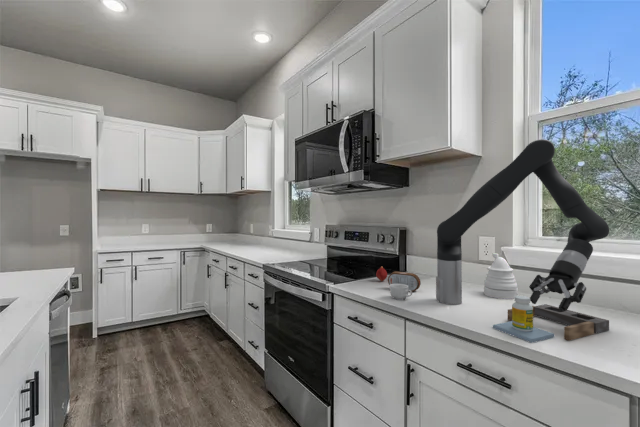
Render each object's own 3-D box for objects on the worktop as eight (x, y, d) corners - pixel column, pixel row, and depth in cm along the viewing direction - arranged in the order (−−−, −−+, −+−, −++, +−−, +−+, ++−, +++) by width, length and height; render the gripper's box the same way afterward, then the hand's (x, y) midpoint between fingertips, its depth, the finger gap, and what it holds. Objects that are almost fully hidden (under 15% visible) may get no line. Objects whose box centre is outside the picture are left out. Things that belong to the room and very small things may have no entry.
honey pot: (478, 294, 137) (478, 254, 137) (491, 289, 145) (491, 251, 145) (510, 300, 127) (510, 257, 127) (522, 295, 135) (522, 254, 135)
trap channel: (545, 312, 112) (545, 302, 112) (609, 330, 95) (609, 318, 95) (507, 320, 104) (507, 309, 104) (568, 340, 87) (568, 328, 87)
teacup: (386, 298, 132) (385, 285, 132) (396, 295, 137) (396, 282, 137) (406, 303, 125) (406, 289, 125) (416, 299, 130) (416, 286, 130)
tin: (420, 291, 143) (420, 273, 143) (419, 293, 140) (418, 274, 140) (389, 287, 151) (389, 270, 151) (387, 289, 148) (387, 271, 148)
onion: (375, 280, 167) (374, 265, 167) (385, 280, 168) (385, 265, 168) (377, 282, 161) (377, 267, 161) (388, 282, 162) (388, 267, 162)
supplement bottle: (517, 324, 97) (517, 294, 97) (536, 329, 93) (536, 297, 93) (508, 328, 94) (508, 296, 94) (528, 333, 90) (528, 300, 90)
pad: (514, 323, 101) (514, 320, 101) (554, 337, 90) (554, 333, 90) (492, 328, 97) (492, 324, 97) (531, 342, 86) (531, 339, 86)
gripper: (540, 256, 108) (518, 293, 103) (589, 262, 94) (566, 304, 90) (550, 270, 110) (529, 307, 105) (599, 278, 96) (577, 320, 92)
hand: (546, 305), depth 98 cm, fingers open, 8 cm apart
